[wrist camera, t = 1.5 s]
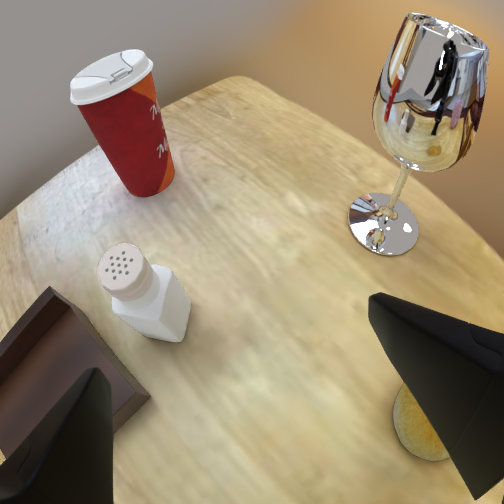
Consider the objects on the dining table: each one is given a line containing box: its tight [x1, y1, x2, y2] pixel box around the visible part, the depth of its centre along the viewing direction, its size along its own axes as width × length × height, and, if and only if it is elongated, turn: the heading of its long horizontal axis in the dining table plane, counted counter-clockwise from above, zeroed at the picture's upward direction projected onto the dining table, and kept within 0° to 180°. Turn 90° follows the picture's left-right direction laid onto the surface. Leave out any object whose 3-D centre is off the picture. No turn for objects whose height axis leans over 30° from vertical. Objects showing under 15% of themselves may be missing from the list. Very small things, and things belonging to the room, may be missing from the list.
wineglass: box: [348, 13, 489, 256], centre depth 20 cm, size 8×8×20 cm
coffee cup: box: [70, 50, 174, 197], centre depth 28 cm, size 8×8×15 cm
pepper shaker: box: [97, 243, 192, 342], centre depth 21 cm, size 4×4×10 cm
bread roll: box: [393, 383, 451, 461], centre depth 17 cm, size 8×9×4 cm
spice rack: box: [0, 286, 151, 459], centre depth 19 cm, size 11×16×6 cm
